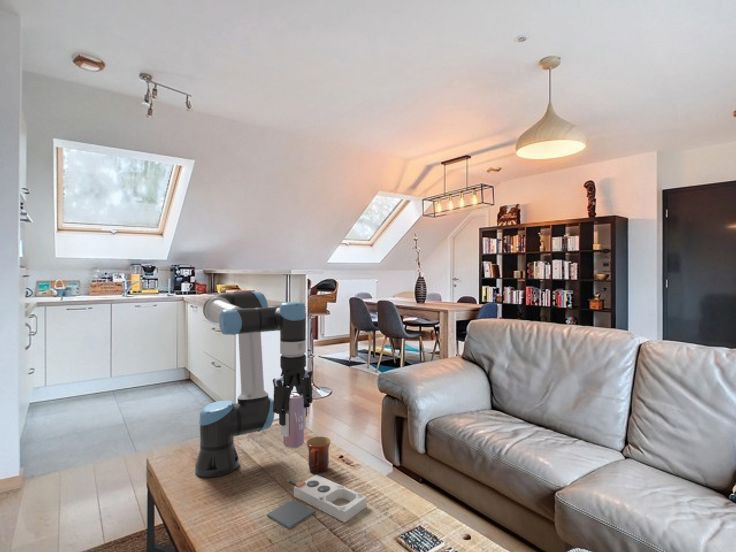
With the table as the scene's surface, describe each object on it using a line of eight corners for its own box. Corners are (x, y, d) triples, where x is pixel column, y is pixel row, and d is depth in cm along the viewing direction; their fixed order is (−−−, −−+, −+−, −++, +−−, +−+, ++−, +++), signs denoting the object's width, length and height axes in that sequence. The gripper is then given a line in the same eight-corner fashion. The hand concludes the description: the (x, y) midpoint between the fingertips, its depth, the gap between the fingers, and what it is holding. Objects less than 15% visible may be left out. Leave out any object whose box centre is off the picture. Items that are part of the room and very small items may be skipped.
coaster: (267, 515, 120) (267, 513, 120) (293, 501, 128) (293, 499, 128) (289, 529, 114) (289, 527, 114) (315, 512, 122) (315, 510, 122)
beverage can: (296, 438, 125) (295, 390, 125) (308, 444, 121) (307, 394, 121) (279, 444, 121) (279, 394, 121) (291, 451, 117) (291, 399, 117)
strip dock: (277, 488, 135) (277, 477, 135) (301, 475, 144) (301, 465, 144) (343, 523, 116) (343, 510, 116) (367, 505, 125) (367, 494, 125)
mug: (311, 462, 154) (311, 435, 154) (333, 464, 152) (333, 437, 152) (299, 478, 142) (299, 449, 142) (323, 480, 140) (323, 451, 140)
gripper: (276, 362, 111) (276, 446, 111) (324, 350, 126) (324, 425, 126) (258, 358, 116) (259, 439, 116) (307, 347, 130) (308, 419, 131)
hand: (293, 431), depth 121 cm, fingers closed on beverage can, 6 cm apart
